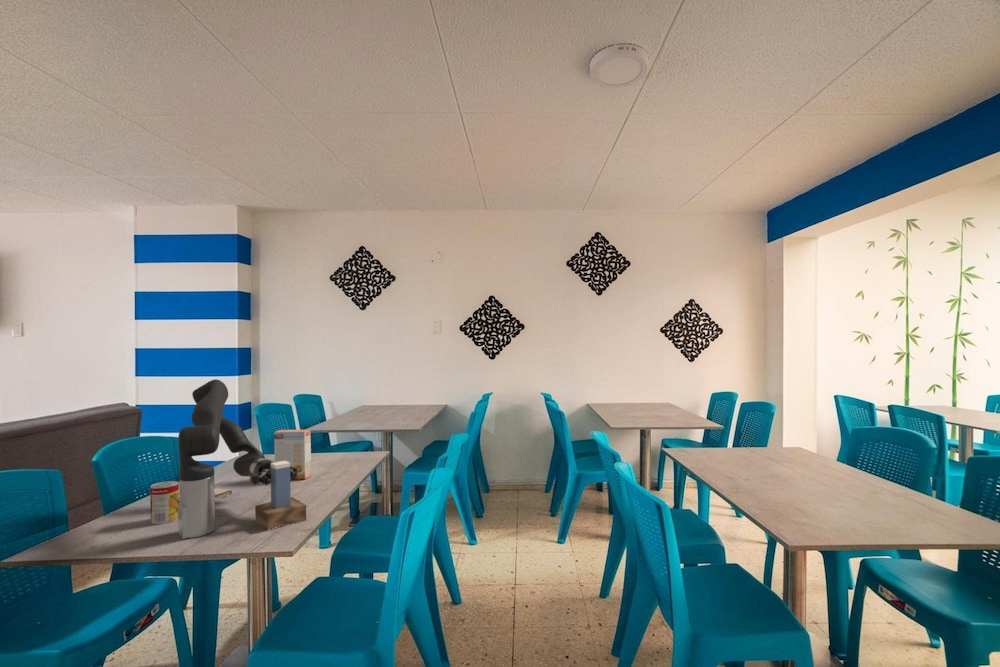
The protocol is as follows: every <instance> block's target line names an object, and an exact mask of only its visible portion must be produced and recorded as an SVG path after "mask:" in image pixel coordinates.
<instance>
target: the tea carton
mask: <svg viewBox="0 0 1000 667" xmlns="http://www.w3.org/2000/svg"><path fill="white" fill-rule="evenodd" d="M274 462H275V461H274ZM270 502H271V506H273V507H274V508H276V509H277V508H281V507H285V506H289V505H291V479H290V463H289V462H287V461H280V462H275V463H271V483H270Z"/></svg>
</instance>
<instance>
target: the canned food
mask: <svg viewBox="0 0 1000 667" xmlns="http://www.w3.org/2000/svg"><path fill="white" fill-rule="evenodd" d="M149 490H150V504H149V505H150V506H149V507H150V524H151V523H152V525H163V523H165V524H168V522H169V523H172V522H175V521H177V520H178V503H179V497H180V481H178V480H170V481H169V480H167V481H162V482H161V481H160V482H158V483H157V482H156V483H154V484H151V485H150V489H149ZM176 519H177V520H176ZM174 520H175V521H174ZM171 521H172V522H171Z"/></svg>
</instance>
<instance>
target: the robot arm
mask: <svg viewBox="0 0 1000 667" xmlns="http://www.w3.org/2000/svg"><path fill="white" fill-rule="evenodd" d="M228 398H229V390H228V387H227V385H226V384H225V383H224V382H223V381H221V380H219V379H212V380H209V381H208V382H205V383H204V384H202V385H200V386H199V387H198V388H195V390H193V391H192V399H193V401H194V403H195V404H196V405H195V406H194V408H193V411H192V414H191V423H192V425H193V426H184V427H182V428H181V429H180V431H179V433H178V437H177V438H178V439H177V440H178V441H177V442H178V443H177V444H178V457H179V497H180V503H178V519H177V524H178V525H177V529H178V530H177V533H178V534H177V535H179V537H180V538H181V539H182V540H183V539H191V538H197V537H202V536H205V535H208V534H210V533H212V532H214V531H215V528H216V526H215V525H216V521H215V519H216V516H215V515H216V514H215V508H216V507H215V502H216V501H214V488H215V467H214V466H213V465H212V464H208V463H202V462H199V461H197V460H195V459H194V458H193V457H197V456H204V455H205V456H206V455H212V454H214V453H215V452H216V451H218V448H219V445H220V437H221V438H222V439H223V441H224V443H225V445H226V446H227V448H228V449H229V452H231V453H232V454H235V453H240V452H246V453H245V454H243V455H241V456H239V457H237V458H236V459H235V460H234V462H233V464H232V465H233V470H234V471H235V473H236V474H238V475H239V476H240V477H249V482H250V483H251V484H253V485H257V484H258V483H259V484H263V485H264V486H265V485H266V486H268V485H270V484H271V463H275V461H273V460H270V459H268V458H266V457H265V455H264V453H262V451H260V449H259V448H257V447H256V446H254V444H253V443H252V442H251V441H250V440H249V439H248V437H247V435H246V433H245V432H244V430H243V429H242V427H241V426H240V425H239V424H238V423H236V422H234V421H233V420H230V419H228V418H225V417H223V414H224V407H225V404H226V402H227V400H228ZM296 476H297V468H295V467H292V466H290V478H291V479H290V480H296V479H295V478H296Z"/></svg>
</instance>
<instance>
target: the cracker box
mask: <svg viewBox="0 0 1000 667" xmlns="http://www.w3.org/2000/svg"><path fill="white" fill-rule="evenodd" d="M311 435H312V434H311V429H280V430H276V431H274V436H273V437H274V438H273V440H274V442H273V443H274V447H273V448H274V449H273V450H274V452H273V453H274V462H280V461H287V462H289V463H290V466H292V467H295V468H297V476H296V478H295V479H294V480H301V479H304V480H307V479H308V478H310V477H311V476H312V454H311V453H312V448H311V447H312V446H311V444H312V443H311V441H312V440H311ZM290 480H292V479H291V478H290Z"/></svg>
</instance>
